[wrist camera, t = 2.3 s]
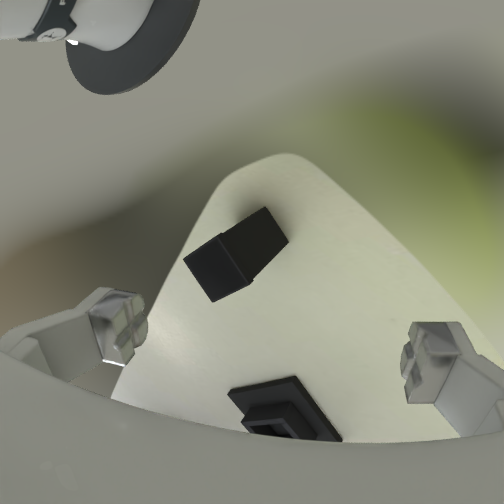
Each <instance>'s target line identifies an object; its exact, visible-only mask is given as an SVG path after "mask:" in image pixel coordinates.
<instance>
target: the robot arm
mask: <svg viewBox="0 0 504 504" xmlns="http://www.w3.org/2000/svg"><path fill="white" fill-rule="evenodd" d="M153 2H154V0H0V40H4V39H16V38H17V39H18V40H19V41H42V42H46V41H58V40H68V41H69V42H70V43H72V44H77V43H78V42H80V43H84V44H87V45H90V46H93V47H95V48H97V49H99V50H102V51H110V50H114V49H117V48H119V47H120V46H122V45H123V44H125V43H126V42H127V41H128V40H130V39H131V38H132V37H133V36H134V34H135V33H136V32H137V31H138V29H139V28H140V27H141V25H142V24H143V22H144V20H145V19H146V17H147V15H148V13H149V10H150V8H151V6H152V4H153ZM143 308H144V301H143V297H142V296H141V295H140V294H138V293H133V292H128V291H122V290H117V289H112V288H106V287H99V288H98V289H96V290H95V291H94V292H93V293H92V294H91V295H90V296H88V297H87V298H86V299H85V300H83V301H82V302H81V303H80V304H79V305H78V306H76V307H75V308H74V309H73V310H71V309H68V310H65V311H62V312H59V313H56V314H53V315H50V316H47V317H44V318H41V319H38V320H35V321H32V322H29V323H26V324H23V325H20V326H17V327H14V328H11V329H10V330H9V331H8V332H7V333H6V334H4V335H3V336H2V337H1V338H0V504H504V370H503V369H501V368H500V367H498V366H497V365H496V364H494V363H493V362H491V361H490V360H488V359H487V358H486V357H484V356H483V355H477V353H476V351H475V349H474V347H473V346H472V344H471V342H470V340H469V338H468V336H467V334H466V332H465V330H464V329H463V327H462V325H461V323H459V322H412V324H411V326H410V329H409V332H408V335H409V338H410V341H409V342H408V343H407V344H405V345H404V348H403V351H402V354H401V362H400V369H401V375H402V377H403V378H404V379H405V380H407V381H406V384H405V386H404V389H405V394H406V399H407V403H408V404H434V406H435V407H436V408H437V409H438V411H439V412H440V413H441V414H442V415H443V416H444V418H445V419H446V420H447V421H448V422H449V423H450V424H451V426H452V427H453V428H454V429H455V430H456V432H457V433H458V434H459V435H460V436H461V438H452V439H443V440H432V441H419V442H399V443H348V442H327V441H313V440H301V439H291V438H282V437H274V436H267V435H259V434H253V433H246V432H240V431H235V430H229V429H224V428H218V427H213V426H209V425H204V424H199V423H195V422H191V421H186V420H182V419H178V418H174V417H170V416H166V415H163V414H159V413H155V412H152V411H148V410H145V409H142V408H138V407H135V406H132V405H129V404H126V403H122V402H119V401H116V400H113V399H111V398H107V397H105V396H102V395H99V394H96V393H94V392H91V391H88V390H86V389H83V388H81V387H78V386H76V385H73V384H70V383H68V382H70V381H71V380H73V379H75V378H77V377H78V376H80V375H82V374H84V373H86V372H87V371H89V370H91V369H93V368H94V367H96V366H98V365H100V364H101V363H103V361H105V362H108V363H112V364H116V365H120V366H124V367H126V365H127V364H128V363H129V361H130V360H131V359H132V357H133V356H134V355H135V351H134V348H137V347H139V346H141V345H142V344H143V342H144V341H145V340H146V336H147V333H148V321H147V317H146V316H145V315H144V314H143V312H142V309H143Z"/></svg>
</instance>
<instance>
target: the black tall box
mask: <svg viewBox="0 0 504 504" xmlns="http://www.w3.org/2000/svg"><path fill="white" fill-rule="evenodd" d="M288 243H289V242H288V240H287V238H286V237H285V235H284V234H283V232H282V231H281V229H280V228H279V226H278V225H277V223H276V221H275V220H274V218H273V217H272V215H271V214H270V212H269V211H268V209H267V208H266V206H265V207H263V208H262V209H260V210H258V211H257V212H255V213H254V214H252V215H251V216H249V217H247V218H246V219H244V220H243V221H241V222H240V223H238V224H236V225H235V226H233V227H232V228H230V229H229V230H227V231H226V232H224V233H220V234H218V235H217V236H215V237H214V238H212V239H211V240H209V241H208V242H207V243H205V244H204V245H202V246H201V247H199V248H198V249H196V250H195V251H193V252H192V253H191V254H189V255H188V256H186V257H185V258H184V259H183V260H184V262H185V263H186V265H187V266H188V268H189V269H190V271H191V272H192V274H193V275H194V277H195V278H196V280H197V281H198V283H199V284H200V286H201V287H202V288H203V290H204V291H205V293H206V294H207V296H208V297H209V299H210V300H211V302H212V303H213V302H215V301H218V300H220V299H222V298H224V297H226V296H228V295H230V294H232V293H234V292H236V291H238V290H240V289H242V288H244V287H246V286H248V285H250V284H251V283H252V282H253V281H254V280H253V279H254V278H255V276H256V275H257V274H258V273H259V272H260V271H261V270H262V269H263V268H264V267H265V266H266V265H267V264H268V263H269V262H270V261H271V260H272V259H273V258H274V257H275V256H276V255H277V254H278V253H279V252H280V251H281V250H282V249H283V248H284V247H285V246H286V245H287V244H288Z"/></svg>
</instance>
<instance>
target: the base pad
mask: <svg viewBox="0 0 504 504" xmlns="http://www.w3.org/2000/svg"><path fill="white" fill-rule="evenodd" d="M227 395H228V396H229V397H230V399H231V400H232V401H233V402H234V403H235V405H236V406H237V407H238V408H239V409H240V410H241V412H242V413H243V414H244V415H245V416H244V418H243V419H242V421H241V423H242V425H243V426H245V428H246V429H247V430H248V431H249V432H250V433H253V434H259V435H267V436H274V437H282V438H291V439H301V440H313V441H327V442H342V441H343V440H342V438H341V437H340V436H339V434H338V433H337V432H336V430H335V429H334V428H333V426H332V425H331V424H330V422H329V421H328V420H327V418H326V417H325V416H324V414H323V413H322V412H321V410H320V409H319V408H318V406H317V405H316V403H315V402H314V401H313V399H312V398H311V397H310V395H309V394H308V393H307V391H306V390H305V388H304V387H303V386H302V384H301V383H300V382H299V380H298V379H297V377H296V376H293V377H289V378H285V379H280V380H276V381H271V382H267V383H262V384H257V385H252V386H247V387H242V388H237V389H231V390H230V391H229V393H228V394H227Z"/></svg>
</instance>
